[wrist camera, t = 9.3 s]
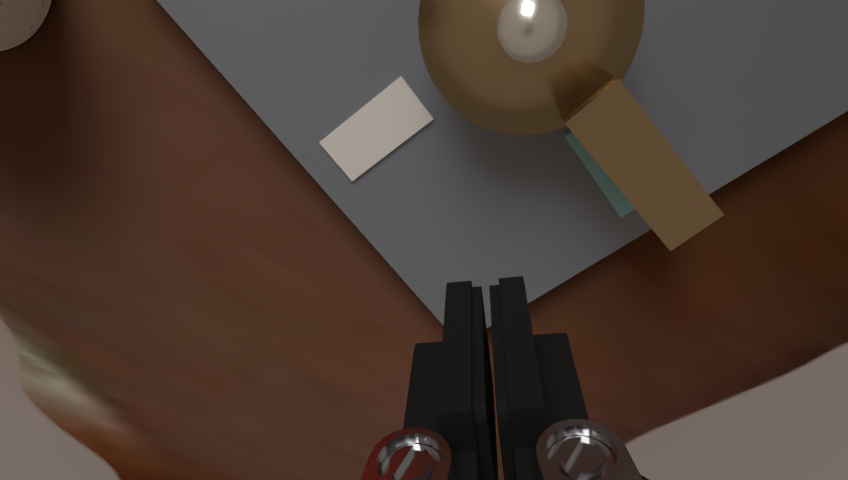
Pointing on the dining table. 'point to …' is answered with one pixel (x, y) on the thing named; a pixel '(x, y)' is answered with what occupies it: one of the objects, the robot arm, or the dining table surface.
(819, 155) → the dining table surface
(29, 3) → the teacup with lid
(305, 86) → the base
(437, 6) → the lock handle
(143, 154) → the dining table surface
